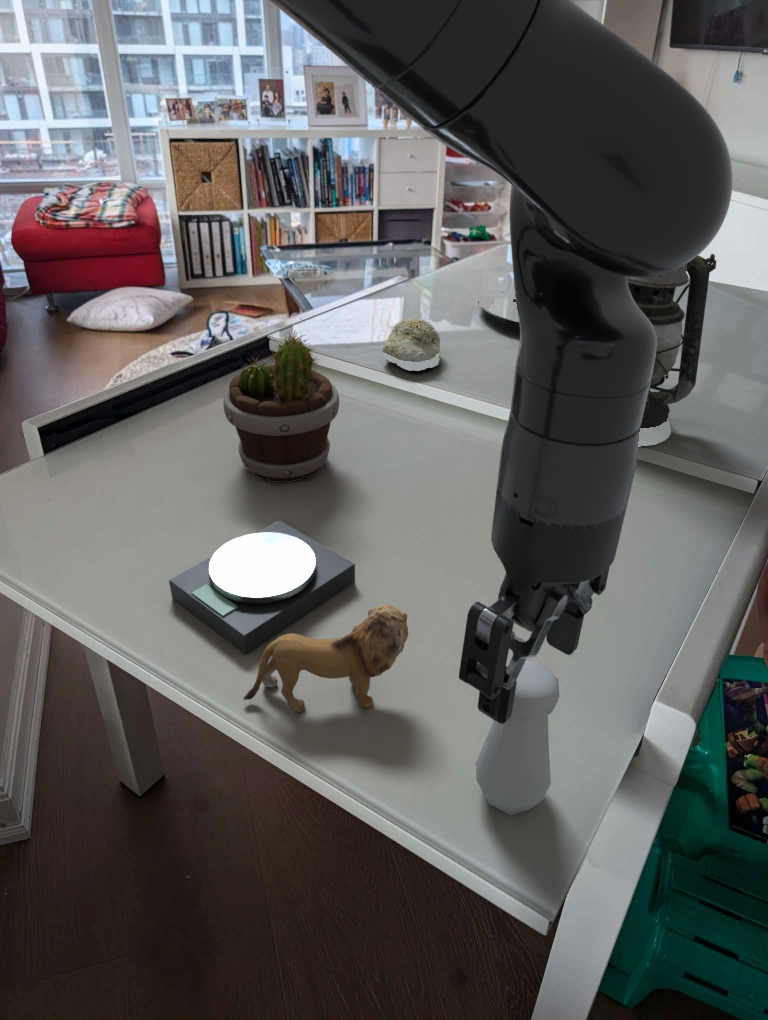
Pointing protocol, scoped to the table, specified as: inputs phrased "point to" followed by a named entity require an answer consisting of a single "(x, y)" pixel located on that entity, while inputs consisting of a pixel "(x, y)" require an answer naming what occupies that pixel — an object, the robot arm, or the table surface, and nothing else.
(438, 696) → the table surface
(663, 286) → the lantern
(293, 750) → the table surface
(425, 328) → the decorative item
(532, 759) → the salt shaker
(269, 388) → the flowerpot
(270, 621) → the scale
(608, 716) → the table surface
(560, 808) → the table surface
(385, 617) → the lion figurine
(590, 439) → the robot arm
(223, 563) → the scale pan
